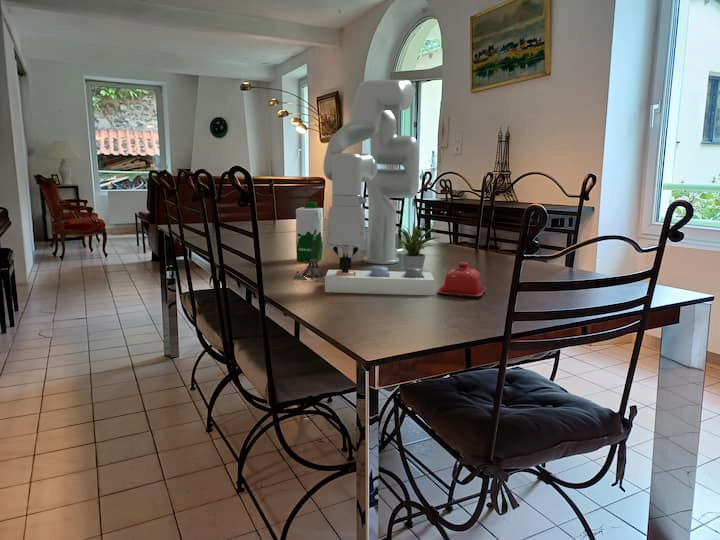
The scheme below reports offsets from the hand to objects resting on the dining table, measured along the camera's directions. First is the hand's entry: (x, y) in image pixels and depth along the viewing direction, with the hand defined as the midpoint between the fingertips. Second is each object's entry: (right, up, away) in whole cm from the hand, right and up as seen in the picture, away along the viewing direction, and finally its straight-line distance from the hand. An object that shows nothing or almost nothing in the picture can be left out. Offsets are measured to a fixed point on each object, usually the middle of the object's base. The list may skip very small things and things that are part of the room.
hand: (345, 271), depth 138 cm
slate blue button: (+9, -2, 0) cm, 9 cm away
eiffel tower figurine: (-10, -2, +16) cm, 19 cm away
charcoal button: (+18, -3, 0) cm, 18 cm away
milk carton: (-14, +3, +42) cm, 44 cm away
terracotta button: (0, -3, +1) cm, 3 cm away
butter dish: (+31, -6, -1) cm, 31 cm away
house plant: (+20, -2, +20) cm, 28 cm away
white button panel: (+9, -5, +1) cm, 10 cm away
